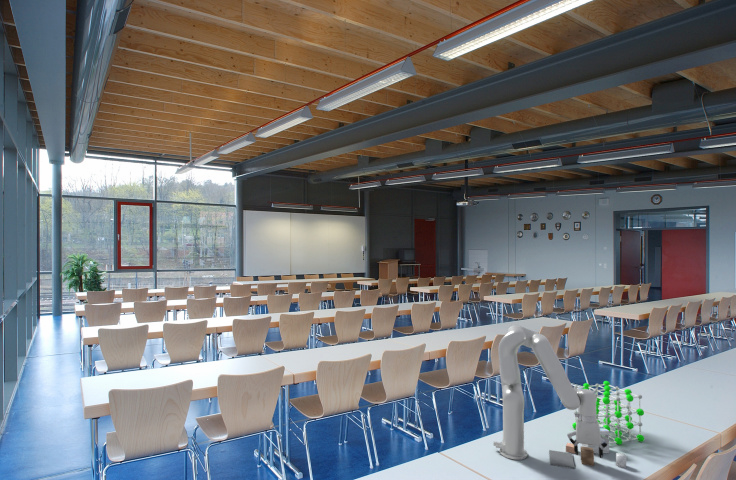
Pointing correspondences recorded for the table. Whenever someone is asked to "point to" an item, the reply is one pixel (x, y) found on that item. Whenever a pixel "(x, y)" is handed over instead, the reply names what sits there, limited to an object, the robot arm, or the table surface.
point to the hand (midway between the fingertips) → (588, 455)
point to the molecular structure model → (617, 413)
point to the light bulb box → (595, 447)
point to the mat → (561, 459)
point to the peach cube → (570, 448)
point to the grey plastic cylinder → (621, 460)
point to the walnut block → (587, 456)
